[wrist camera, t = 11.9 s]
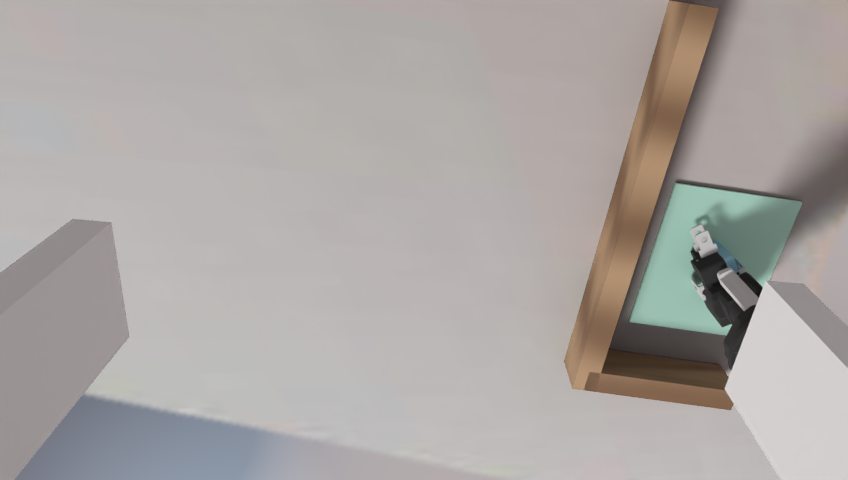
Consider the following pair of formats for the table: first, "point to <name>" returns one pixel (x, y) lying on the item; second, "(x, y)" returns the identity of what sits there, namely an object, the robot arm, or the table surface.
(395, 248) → the table surface
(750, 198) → the pad
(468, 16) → the table surface
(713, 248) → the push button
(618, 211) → the wooden l-shaped wall
